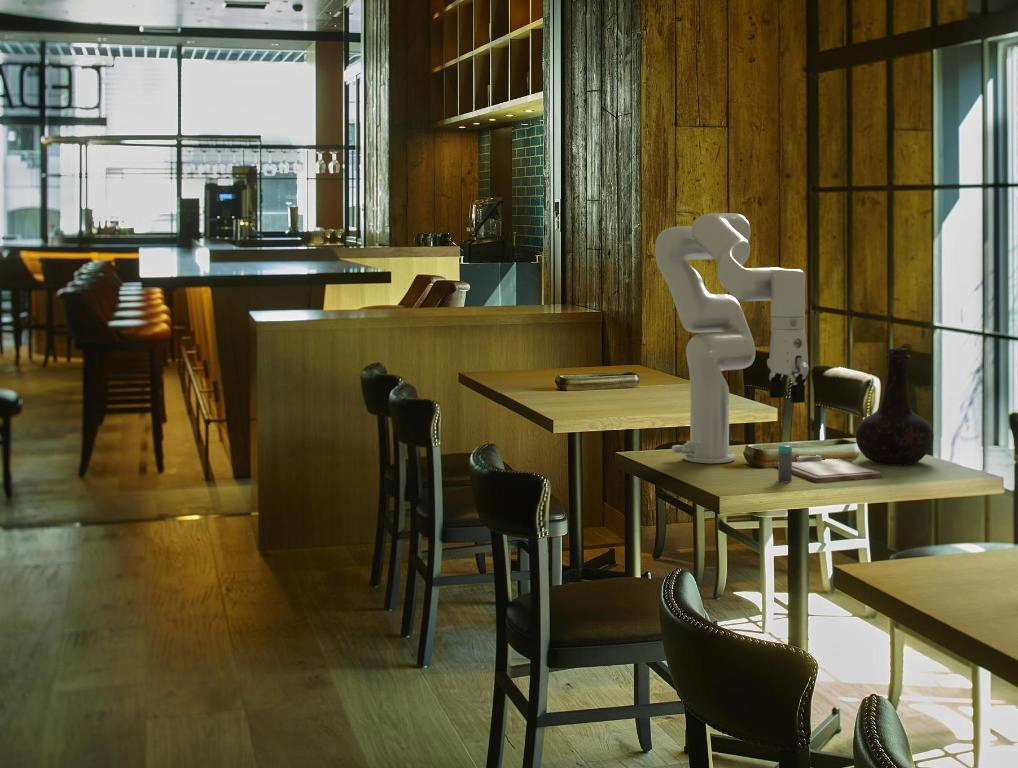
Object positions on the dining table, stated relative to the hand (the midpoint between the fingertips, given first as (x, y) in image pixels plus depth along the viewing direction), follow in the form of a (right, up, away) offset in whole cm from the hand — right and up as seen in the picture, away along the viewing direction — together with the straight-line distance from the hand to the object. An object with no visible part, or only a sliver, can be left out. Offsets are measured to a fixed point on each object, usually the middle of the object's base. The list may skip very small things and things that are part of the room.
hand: (787, 400), depth 284 cm
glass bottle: (+31, -16, +22) cm, 41 cm away
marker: (0, -18, +2) cm, 19 cm away
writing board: (+12, -17, +12) cm, 24 cm away
